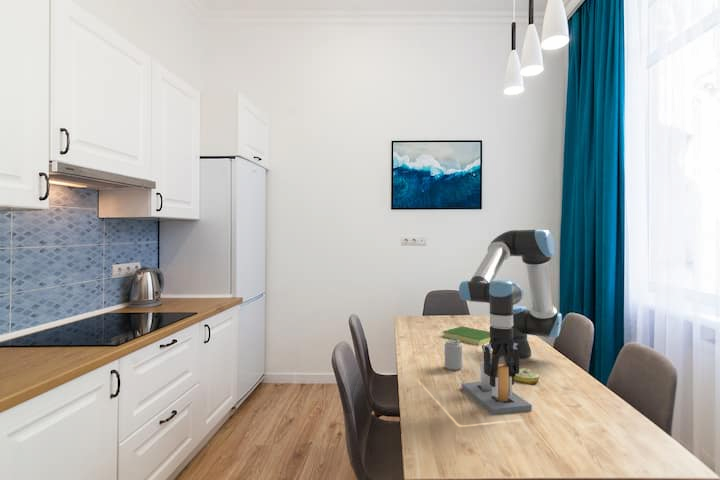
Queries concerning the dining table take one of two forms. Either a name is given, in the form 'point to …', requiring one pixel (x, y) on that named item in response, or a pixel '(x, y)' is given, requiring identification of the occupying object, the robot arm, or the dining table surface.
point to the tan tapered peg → (503, 382)
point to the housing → (494, 405)
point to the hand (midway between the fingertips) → (501, 394)
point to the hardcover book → (468, 335)
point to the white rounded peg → (485, 379)
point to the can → (453, 355)
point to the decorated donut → (526, 376)
